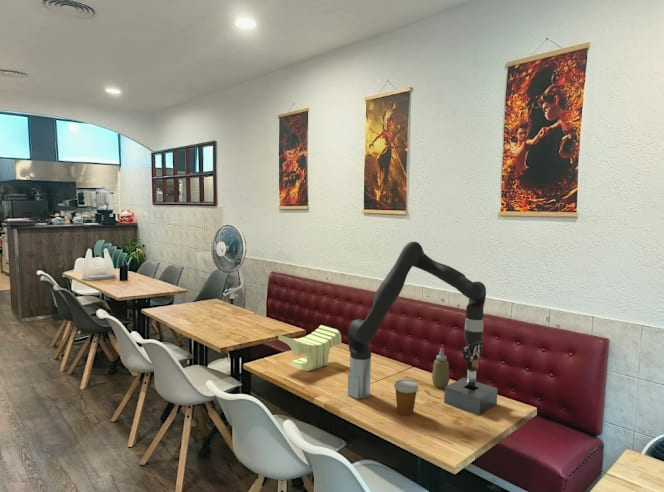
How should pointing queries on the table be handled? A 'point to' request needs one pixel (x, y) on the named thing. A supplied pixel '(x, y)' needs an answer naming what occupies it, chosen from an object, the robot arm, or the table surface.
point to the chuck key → (472, 373)
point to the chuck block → (471, 396)
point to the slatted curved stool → (313, 347)
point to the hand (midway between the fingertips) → (472, 367)
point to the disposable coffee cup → (405, 396)
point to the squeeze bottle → (440, 371)
